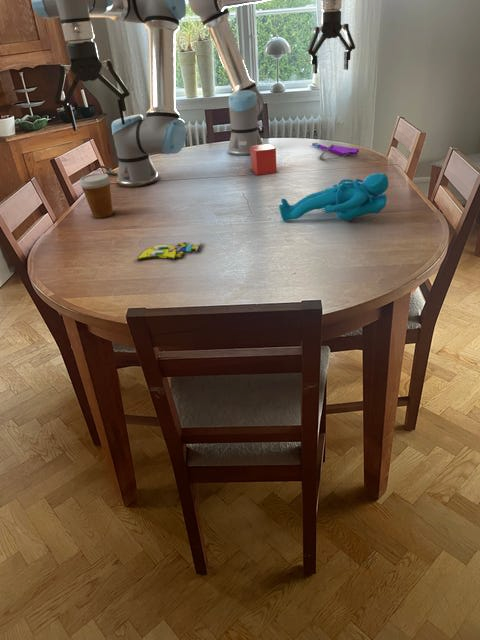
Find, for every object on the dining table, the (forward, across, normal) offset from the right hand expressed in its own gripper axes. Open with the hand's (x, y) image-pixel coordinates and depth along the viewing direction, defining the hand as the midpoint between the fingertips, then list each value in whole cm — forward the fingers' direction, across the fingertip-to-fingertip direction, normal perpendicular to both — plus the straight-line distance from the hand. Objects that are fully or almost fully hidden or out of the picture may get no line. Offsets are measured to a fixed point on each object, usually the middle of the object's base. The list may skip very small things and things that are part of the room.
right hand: (330, 71), depth 199 cm
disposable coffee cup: (+27, -100, -53) cm, 116 cm away
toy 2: (+28, -34, -87) cm, 97 cm away
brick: (+28, -39, -31) cm, 57 cm away
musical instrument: (+28, -8, -20) cm, 36 cm away
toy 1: (+28, -82, -91) cm, 126 cm away
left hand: (0, -94, -58) cm, 111 cm away
